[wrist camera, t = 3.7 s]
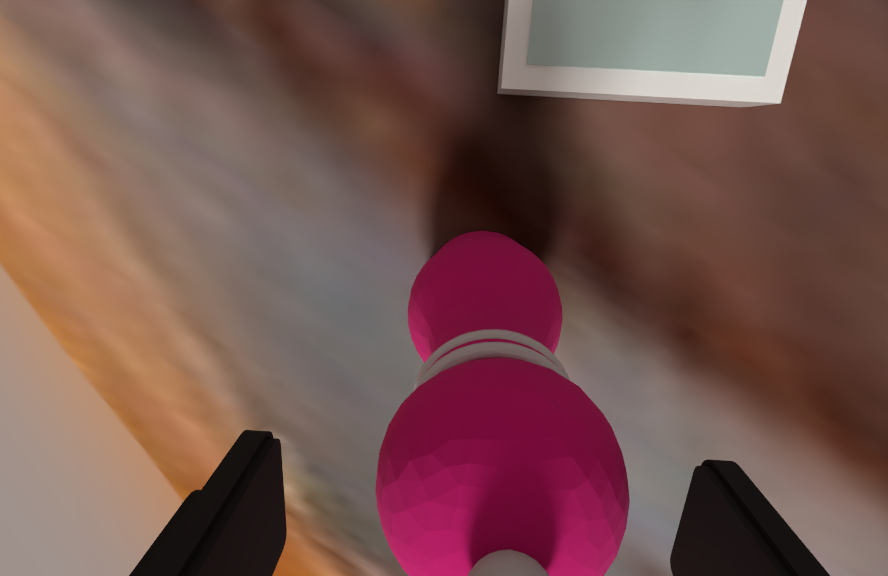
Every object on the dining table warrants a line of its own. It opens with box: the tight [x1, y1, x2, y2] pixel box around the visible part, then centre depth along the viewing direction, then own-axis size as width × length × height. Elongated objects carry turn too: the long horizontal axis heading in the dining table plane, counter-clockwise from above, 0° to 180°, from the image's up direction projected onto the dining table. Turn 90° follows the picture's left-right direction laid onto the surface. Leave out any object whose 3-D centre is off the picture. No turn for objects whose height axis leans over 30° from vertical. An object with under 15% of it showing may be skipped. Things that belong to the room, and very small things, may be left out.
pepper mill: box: [376, 231, 629, 576], centre depth 17 cm, size 7×7×20 cm
